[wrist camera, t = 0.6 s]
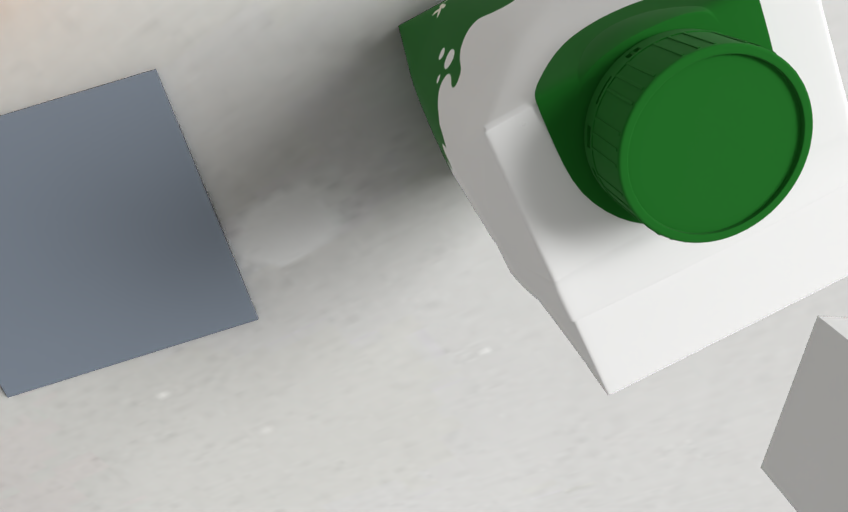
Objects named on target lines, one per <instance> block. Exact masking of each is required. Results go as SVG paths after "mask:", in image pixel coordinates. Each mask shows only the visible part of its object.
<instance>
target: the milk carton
mask: <svg viewBox="0 0 848 512" xmlns="http://www.w3.org/2000/svg"><path fill="white" fill-rule="evenodd" d="M399 30H400V34H401V38H402V42H403V46H404V50H405V54H406V58H407V62H408V66H409V70H410V74H411V78H412V81H413V85H414V87H415V90H416V93H417V96H418V99H419V101H420V104H421V106H422V108H423V111H424V113H425V116H426V118H427V120H428V123H429V125H430V127H431V130H432V132H433V134H434V136H435V139H436V141H437V143H438V145H439V147H440V150H441V152H442V154H443V156H444V158H445V160H446V162H447V164H448V166H449V168H450V170H451V172H452V173H453V175H454V177H455V178H456V180H457V182H458V183H459V185H460V187H461V188H462V190H463V192H464V193H465V195H466V197H467V198H468V200H469V201H470V203H471V205H472V206H473V208H474V210H475V211H476V213H477V215H478V216H479V218H480V219H481V221H482V223H483V224H484V226H485V228H486V229H487V231H488V233H489V234H490V236H491V237H492V239H493V240H494V242H495V243H496V245H497V246H498V248H499V250H500V252H501V254H502V256H503V258H504V260H505V262H506V264H507V266H508V268H509V270H510V272H511V274H512V275H513V276H514V277H515V279H516V280H517V281H518V282H519V283H520V284H521V285H522V286H523V287H524V288H525V289H526V290H527V291H528V292H529V293H531V294H532V295H533V296H534V297H535V298H536V299H538V300H539V301H540V303H541V304H542V305H543V307H544V308H545V309H546V311H547V312H548V313H549V314H550V316H551V317H552V318H553V320H554V321H555V322H556V324H557V325H558V326H559V328H560V329H561V330H562V332H563V333H564V334H565V336H566V337H567V338H568V340H569V341H570V342H571V344H572V345H573V347H574V348H575V349H576V351H577V352H578V353H579V355H580V356H581V358H582V359H583V360H584V362H585V363H586V365H587V366H588V368H589V369H590V370H591V372H592V373H593V375H594V376H595V378H596V379H597V380H598V382H599V383H600V385H601V386H602V387H603V389H604V390H605V392H606V393H607V394H608V395H611V394H614V393H616V392H618V391H620V390H622V389H624V388H626V387H628V386H630V385H632V384H634V383H636V382H638V381H640V380H642V379H644V378H646V377H648V376H650V375H652V374H654V373H656V372H658V371H660V370H662V369H664V368H666V367H668V366H670V365H672V364H674V363H676V362H678V361H680V360H682V359H684V358H686V357H688V356H690V355H692V354H694V353H696V352H698V351H700V350H702V349H704V348H706V347H708V346H710V345H712V344H714V343H716V342H718V341H720V340H722V339H724V338H726V337H728V336H730V335H732V334H734V333H736V332H738V331H740V330H742V329H744V328H746V327H748V326H750V325H752V324H754V323H756V322H758V321H760V320H762V319H764V318H766V317H767V316H769V315H771V314H773V313H775V312H777V311H779V310H781V309H783V308H785V307H787V306H789V305H791V304H793V303H795V302H797V301H799V300H801V299H803V298H805V297H807V296H809V295H811V294H813V293H815V292H817V291H819V290H821V289H823V288H825V287H827V286H829V285H831V284H833V283H835V282H837V281H839V280H841V279H843V278H845V277H847V276H848V103H847V99H846V95H845V92H844V88H843V84H842V80H841V76H840V72H839V69H838V65H837V61H836V57H835V53H834V50H833V46H832V42H831V38H830V34H829V30H828V27H827V23H826V19H825V15H824V11H823V7H822V4H821V0H445V1H443V2H441V3H439V4H438V5H436V6H434V7H432V8H430V9H429V10H427V11H425V12H423V13H421V14H419V15H418V16H416V17H414V18H412V19H410V20H408V21H407V22H405V23H403V24H401V25H399Z"/></svg>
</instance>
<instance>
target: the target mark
mask: <svg viewBox="0 0 848 512" xmlns="http://www.w3.org/2000/svg"><path fill="white" fill-rule="evenodd" d="M255 320H258V316H257V313H256V311H255V309H254V306H253V304H252V301H251V299H250V296H249V294H248V292H247V289H246V287H245V284H244V282H243V280H242V277H241V275H240V272H239V270H238V267H237V265H236V263H235V260H234V258H233V255H232V253H231V250H230V248H229V246H228V243H227V241H226V238H225V236H224V233H223V231H222V229H221V226H220V224H219V221H218V219H217V216H216V214H215V212H214V209H213V207H212V204H211V202H210V199H209V197H208V195H207V192H206V190H205V187H204V185H203V183H202V180H201V178H200V175H199V173H198V170H197V168H196V166H195V163H194V161H193V158H192V156H191V153H190V151H189V149H188V146H187V144H186V141H185V139H184V136H183V134H182V132H181V129H180V127H179V124H178V122H177V119H176V117H175V115H174V112H173V110H172V107H171V105H170V103H169V100H168V98H167V95H166V93H165V90H164V88H163V86H162V83H161V81H160V78H159V76H158V73H157V71H156V69H154V70H151V71H147V72H144V73H141V74H137V75H134V76H131V77H127V78H124V79H121V80H117V81H114V82H111V83H107V84H104V85H101V86H97V87H94V88H91V89H87V90H84V91H81V92H78V93H74V94H71V95H68V96H64V97H61V98H58V99H54V100H51V101H48V102H44V103H41V104H38V105H34V106H31V107H28V108H24V109H21V110H18V111H14V112H11V113H8V114H4V115H1V116H0V385H1V387H2V389H3V390H4V392H5V394H6V395H7V397H11V396H14V395H18V394H21V393H24V392H27V391H31V390H34V389H37V388H40V387H43V386H47V385H50V384H53V383H56V382H59V381H63V380H66V379H69V378H72V377H75V376H79V375H82V374H85V373H88V372H91V371H95V370H98V369H101V368H104V367H108V366H111V365H114V364H117V363H120V362H124V361H127V360H130V359H133V358H136V357H140V356H143V355H146V354H149V353H152V352H156V351H159V350H162V349H165V348H168V347H172V346H175V345H178V344H181V343H185V342H188V341H191V340H194V339H197V338H201V337H204V336H207V335H210V334H213V333H217V332H220V331H223V330H226V329H229V328H233V327H236V326H239V325H242V324H245V323H249V322H252V321H255Z"/></svg>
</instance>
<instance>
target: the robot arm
mask: <svg viewBox="0 0 848 512" xmlns="http://www.w3.org/2000/svg"><path fill="white" fill-rule="evenodd" d="M761 468H762V470H763V471H764V472H765V473H766V474H767V476H768V477H769V478H770V479H771V481H772V482H773V483H774V484H775V485H776V487H777V488H778V489H779V490H780V491H781V493H782V494H783V495H784V496H785V498H786V499H787V500H788V501H789V502H790V504H791V505H792V506H793V507H794V508H795V510H796V511H797V512H848V317H832V316H817V319H816V322H815V324H814V327H813V330H812V332H811V335H810V338H809V340H808V343H807V346H806V348H805V351H804V354H803V356H802V359H801V362H800V364H799V367H798V370H797V372H796V375H795V378H794V380H793V383H792V386H791V388H790V391H789V394H788V396H787V399H786V402H785V404H784V407H783V410H782V412H781V415H780V418H779V420H778V423H777V426H776V428H775V431H774V433H773V436H772V439H771V441H770V444H769V447H768V449H767V452H766V455H765V457H764V460H763V463H762V465H761Z"/></svg>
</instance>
